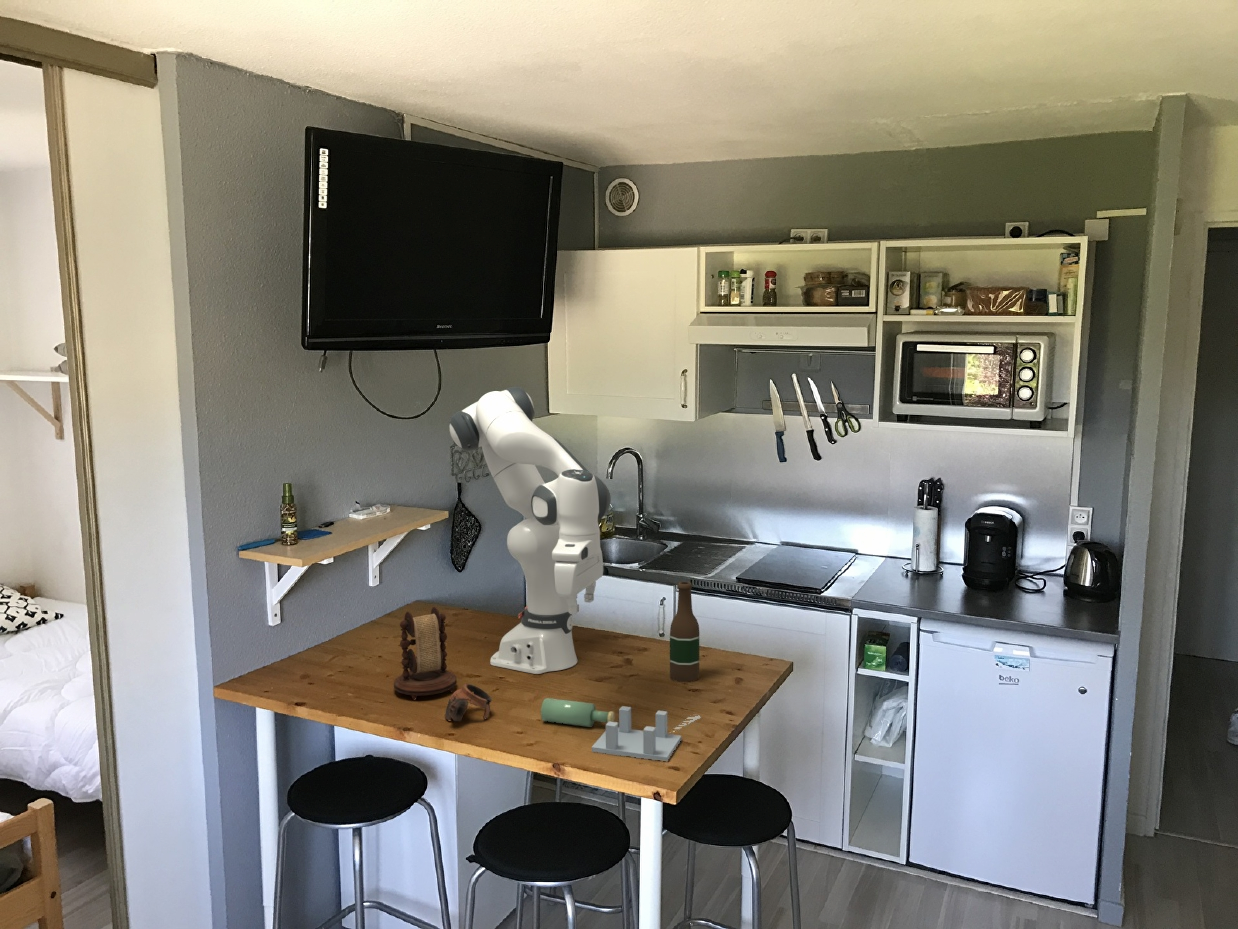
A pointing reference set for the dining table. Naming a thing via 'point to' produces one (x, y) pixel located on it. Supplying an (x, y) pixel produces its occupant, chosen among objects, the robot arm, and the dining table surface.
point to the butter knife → (688, 721)
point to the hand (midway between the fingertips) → (581, 607)
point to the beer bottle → (684, 639)
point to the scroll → (424, 656)
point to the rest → (637, 738)
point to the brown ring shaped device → (460, 702)
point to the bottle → (573, 712)
